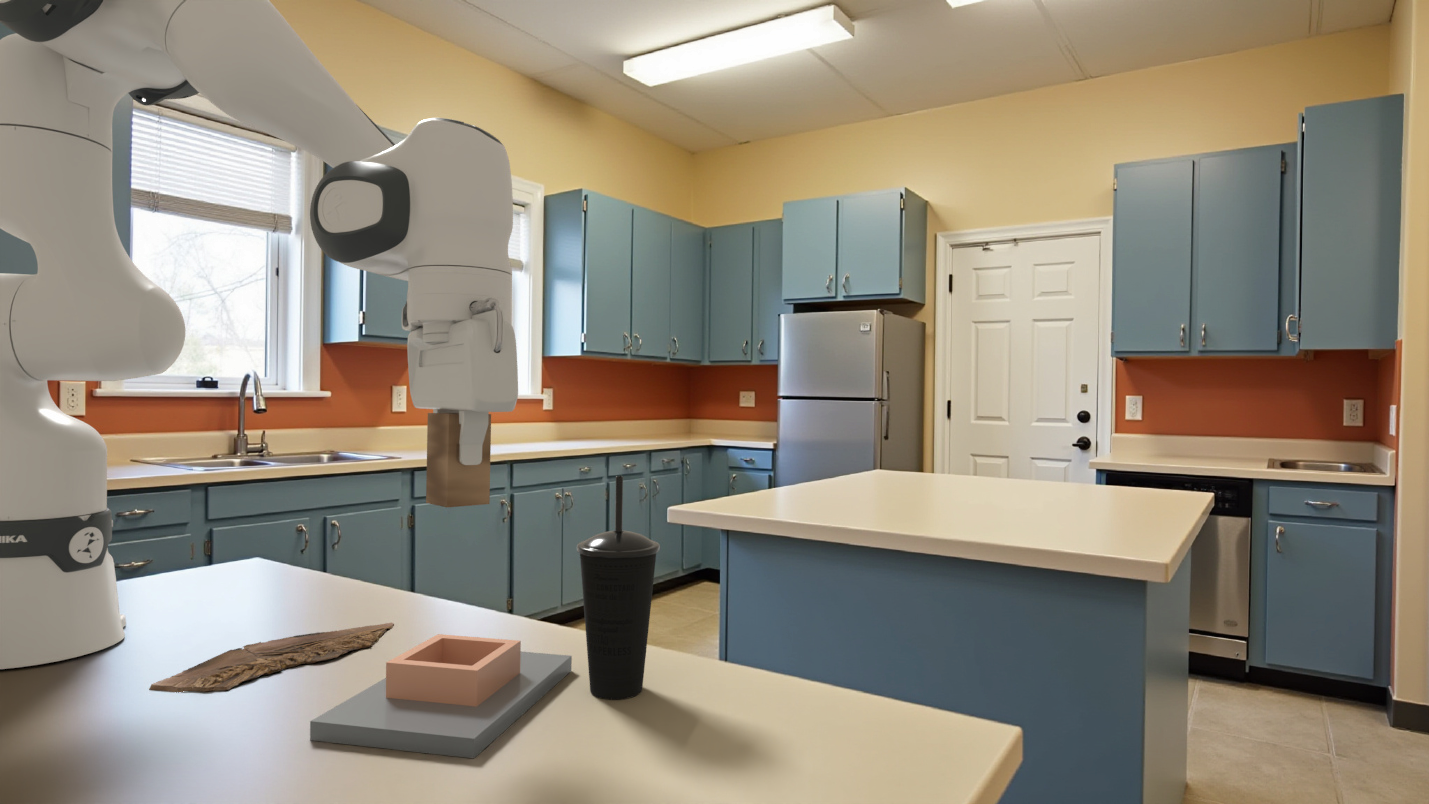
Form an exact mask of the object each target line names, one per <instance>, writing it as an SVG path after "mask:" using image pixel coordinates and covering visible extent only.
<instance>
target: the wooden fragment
mask: <svg viewBox="0 0 1429 804" xmlns="http://www.w3.org/2000/svg"><path fill="white" fill-rule="evenodd" d="M394 626H395V624H394V622H388V623H387V622H385V623H380V624H375V625H374V624H373V625H364V626H360V627H359V626H358V627H352V628H351V627H350V628H346V629H340V630H334V631H333V630H331V631H322V632H319V631H317V632H314V633H312V632H311V633H306V634H299V635H294V636H288V637H284V638H278V639H271V640H268V641H265V642H261V641H259V642H255V643H251V644H246V645H243V646H242V647H239V648H234V649H230V650H226V651H224V652H222V653H220V654H218V655H216V656H214V657H211V658H210V659H207V660H205V661H203V662H201V663H198V664H197V665H194V666H192V667H188V669H185V670H182V671H181V672H179V673H177V674H175V675H172V676H170V677H167V678H164V679H161V680H158V681H156V682H153V683H151V685H150V686H149V688H148V690H149V691H159V692H160V691H162V692H170V693H175V692H176V693H177V692H178V693H177V694H179V692H181V693H184V692H183V691H196V692H211V691H212V692H215V691H217V692H218V691H228V690H232V688H234V687H238V686H239V685H240V684H242V683H243V682H247V681H251V680H254V679H257V678H259V677H260V676H263V675H267V676H268V675H270V674H274V673H277V672H280V671H283V670H286V669H289V668H295V667H297V666H300V665H302V664H303V665H305V664H308V665H310V664H311V665H312V664H315V663H317V662H321V661H327V660H331V659H332V660H333V659H334V658H335V659H336V658H339V657H340V656H343V655H345V654H348V652H352V651H354V650H359V649H365V648H366V649H367V648H370V647H373V646H375V643H377V642H378V641H379V640H380V639H381V637H382V636H383V634H384V633H386V632H387V629H388V630H391V629H393V628H394Z"/></svg>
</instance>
